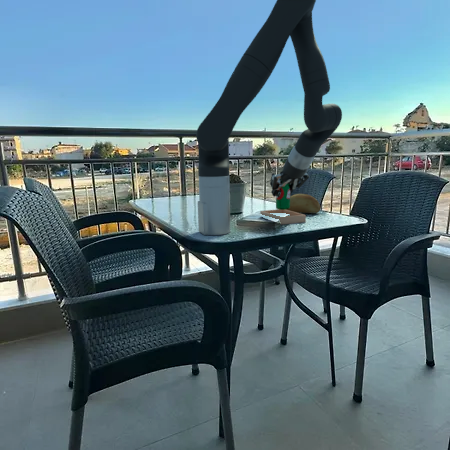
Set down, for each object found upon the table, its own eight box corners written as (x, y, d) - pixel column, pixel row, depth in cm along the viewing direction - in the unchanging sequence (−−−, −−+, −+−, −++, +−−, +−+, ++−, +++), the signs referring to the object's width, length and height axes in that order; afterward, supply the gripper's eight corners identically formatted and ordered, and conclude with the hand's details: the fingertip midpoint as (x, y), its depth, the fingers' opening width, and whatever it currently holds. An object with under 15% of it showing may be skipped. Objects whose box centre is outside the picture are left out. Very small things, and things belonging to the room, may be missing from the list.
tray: (280, 224, 108) (280, 217, 108) (260, 217, 122) (260, 210, 122) (305, 222, 112) (305, 215, 111) (283, 215, 126) (283, 209, 125)
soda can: (290, 209, 113) (290, 175, 111) (275, 209, 114) (275, 175, 112) (290, 207, 118) (290, 174, 116) (276, 207, 119) (276, 175, 117)
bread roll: (322, 215, 123) (323, 195, 122) (282, 215, 126) (282, 195, 124) (318, 211, 133) (319, 192, 131) (281, 211, 135) (282, 192, 133)
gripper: (313, 151, 108) (293, 185, 121) (275, 152, 103) (259, 187, 116) (322, 167, 104) (301, 200, 117) (284, 169, 99) (266, 204, 113)
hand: (280, 194), depth 117 cm, fingers closed on soda can, 5 cm apart
